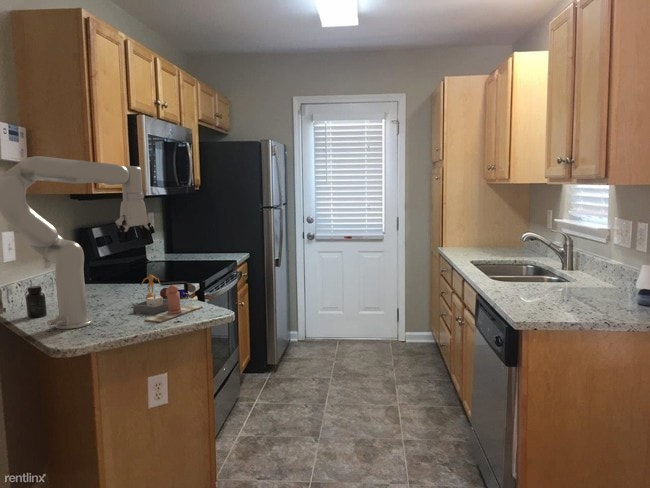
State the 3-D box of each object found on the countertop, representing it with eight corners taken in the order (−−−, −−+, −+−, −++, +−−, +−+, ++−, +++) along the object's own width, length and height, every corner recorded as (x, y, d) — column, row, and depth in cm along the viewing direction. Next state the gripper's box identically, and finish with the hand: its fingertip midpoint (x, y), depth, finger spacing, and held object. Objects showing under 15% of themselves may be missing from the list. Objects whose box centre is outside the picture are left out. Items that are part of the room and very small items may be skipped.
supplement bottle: (30, 315, 213) (27, 286, 211) (49, 313, 214) (46, 284, 213) (25, 319, 206) (22, 289, 205) (44, 317, 208) (41, 287, 206)
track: (160, 322, 193) (160, 321, 193) (144, 320, 196) (144, 319, 196) (202, 307, 214) (202, 306, 214) (187, 306, 218) (187, 304, 218)
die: (155, 310, 210) (154, 298, 210) (146, 309, 212) (145, 298, 212) (164, 307, 215) (163, 296, 214) (155, 306, 217) (154, 295, 216)
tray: (155, 314, 206) (155, 307, 205) (133, 312, 211) (133, 304, 211) (177, 307, 216) (176, 300, 216) (155, 305, 222) (154, 298, 221)
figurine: (140, 303, 226) (137, 276, 225) (144, 300, 232) (142, 273, 231) (159, 302, 226) (157, 275, 225) (163, 299, 232) (161, 272, 231)
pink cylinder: (175, 314, 202) (173, 286, 200) (165, 313, 204) (162, 285, 203) (184, 311, 206) (182, 283, 205) (174, 310, 209) (172, 283, 207)
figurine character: (192, 296, 243) (158, 297, 236) (192, 280, 243) (159, 280, 236) (195, 299, 237) (160, 300, 230) (196, 282, 237) (161, 283, 230)
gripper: (143, 197, 217) (145, 238, 219) (108, 198, 202) (111, 242, 204) (156, 197, 213) (158, 238, 215) (121, 198, 198) (124, 243, 200)
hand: (135, 240), depth 209 cm, fingers open, 9 cm apart
